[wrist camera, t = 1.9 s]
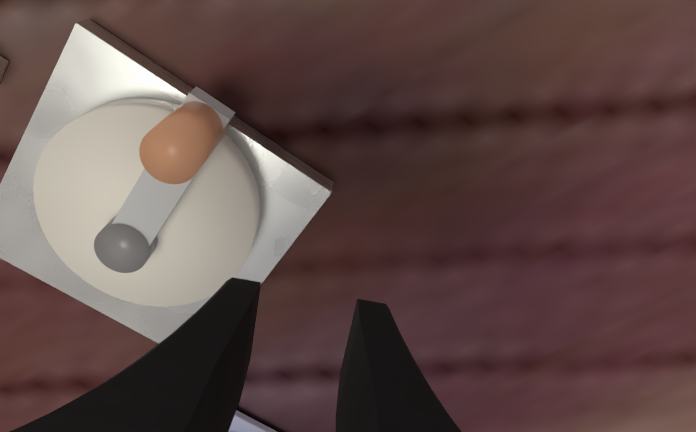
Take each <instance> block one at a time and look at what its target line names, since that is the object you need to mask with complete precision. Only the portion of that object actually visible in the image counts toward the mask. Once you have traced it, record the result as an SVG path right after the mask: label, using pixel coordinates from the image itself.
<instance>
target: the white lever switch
mask: <svg viewBox="0 0 696 432" xmlns="http://www.w3.org/2000/svg"><path fill="white" fill-rule="evenodd" d="M235 113H236V112H234V111H233V110H231V109H230V108H228V107H227V106H225V105H224V104H222V103H221V102H219V101H218V100H216V99H215V98H213V97H212V96H210V95H209V94H207V93H206V92H204V91H203V90H201V89H200V88H198V87H197V86H196V87H195V88H194V89H193V90H192V91H190V92H189V94H188V95H187V97H186V99H185V100H184V102H183V103H182V104H181V105H177V104H174V103H170V102H167V101H162V100H156V99H150V98H130V99H121V100H116V101H112V102H108V103H105V104H103V105H100V106H98V107H95V108H94V109H92V110H90V111H89V112H87V113H85V114H83V115H82V116H80V117H78V118H77V119H75V120H73V121H72V122H70V123H68V124H67V125H66V126H64V127H63V128H62V129H61V130H60V131H58V132H57V133H56V134H55V135H54V137H53V138H52V139H51V140H50V141H49V142H48V144H47V145H46V147H45V149H44V150H43V152H42V154H41V156H40V159H39V161H38V164H37V166H36V171H35V176H34V186H33V195H34V205H35V209H36V213H37V218H38V220H39V223H40V226H41V228H42V231H43V233H44V234H45V236H46V238H47V240H48V242H49V244H50V245H51V246H52V248H53V249H54V251H55V252H56V254H57V255H58V256H59V257H60V258H61V260H62V261H63V262H64V263H65V264H66V265H67V266H68V267H69V268H70V269H71V270H72V271H73V272H74V273H75V274H77V275H78V276H79V277H81V278H82V279H83V280H84V281H86V282H87V283H89V284H90V285H92V286H94V287H95V288H97V289H98V290H100V291H102V292H104V293H106V294H109V295H111V296H113V297H116V298H118V299H121V300H124V301H127V302H131V303H135V304H140V305H146V306H157V307H169V306H180V305H185V304H190V303H193V302H197V301H200V300H202V299H205V298H207V297H209V296H211V295H213V294H215V293H216V292H217V291H218V290H219V289H220V288H221V286H222V285H223V284H224V283H225V282H226V281H227V280H229V279H230V278H232V277H233V278H234V277H235V276H236V275H237V274H238V273H239V271H240V270H241V268H242V267H243V265H244V263H245V262H246V260H247V257H248V255H249V253H250V250H251V248H252V245H253V242H254V240H255V237H256V234H257V230H258V226H259V221H260V197H259V191H258V186H257V183H256V180H255V177H254V174H253V172H252V170H251V168H250V166H249V164H248V162H247V160H246V159H245V157H244V155H243V154H242V152H241V151H240V149H239V148H238V147H237V146H236V145H235V143H234V142H233V141H232V140H231V139H230V138H229V137H228V136H227V135H226V132H227V130H228V127H229V122H230V120H231V119H232V117H233V116H234V114H235Z"/></svg>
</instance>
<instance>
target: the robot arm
mask: <svg viewBox="0 0 696 432" xmlns="http://www.w3.org/2000/svg"><path fill="white" fill-rule="evenodd" d="M260 285H261V282H256V281H250V280H245V279H239V278H233V277H232V278H230V279H229V280H227V281H226V282H225V283H224V284H223V285H222V286H221V288H220V289H219V290H218V291H217V292H216V293H215V294H214V295H213V296H212V297H211V298H210V299H209V300H208V301H207V302H206V303H205V304H204V305H203V306H202V307H201V308H200V309H199V310H198V311H197V312H196V313H194V314H193V315H192V316H191V317H190V318H189V319H188V320H187V321H185V322H184V323H183V324H182V325H181V326H180V327H179V328H178V329H177V330H175V331H174V332H173V333H172V334H171V335H169V336H168V337H167V338H166V339H164V340H163V341H162V342H160V343H159V344H158V345H157V346H155V347H154V348H153V349H152V350H150V351H149V352H148V353H146V354H145V355H144V356H142V357H141V358H140V359H138V360H137V361H136V362H134V363H133V364H131V365H130V366H128V367H127V368H126V369H124V370H123V371H121V372H120V373H118V374H117V375H115V376H113V377H112V378H110V379H109V380H107V381H106V382H104V383H103V384H101V385H99V386H98V387H96V388H94V389H92V390H91V391H89V392H87V393H86V394H84V395H82V396H80V397H79V398H77V399H75V400H73V401H71V402H70V403H68V404H66V405H64V406H62V407H61V408H59V409H57V410H55V411H53V412H51V413H49V414H47V415H45V416H43V417H41V418H39V419H36V420H34V421H32V422H30V423H28V424H26V425H24V426H21V427H19V428H17V429H15V430H12V431H10V432H277V431H275V430H273V429H271V428H269V427H267V426H265V425H264V424H262V423H260V422H258V421H256V420H254V419H252V418H250V417H248V416H247V415H245V414H243V413H241V412H239V411H237V407H238V404H239V401H240V398H241V394H242V390H243V386H244V382H245V378H246V374H247V370H248V366H249V361H250V357H251V350H252V343H253V335H254V328H255V321H256V314H257V307H258V299H259V292H260ZM336 432H461V430H460V429H459V428H458V427H457V425H456V424H455V423H454V421H453V420H452V419H451V417H450V416H449V414H448V413H447V412H446V410H445V409H444V407H443V406H442V404H441V403H440V401H439V400H438V398H437V397H436V395H435V394H434V392H433V391H432V389H431V388H430V386H429V384H428V383H427V381H426V379H425V378H424V376H423V374H422V373H421V371H420V369H419V367H418V366H417V364H416V362H415V360H414V359H413V357H412V355H411V353H410V351H409V349H408V347H407V346H406V344H405V342H404V340H403V338H402V336H401V334H400V332H399V329H398V327H397V325H396V323H395V321H394V319H393V316H392V314H391V312H390V310H389V308H388V307H387V305H386V304H383V303H377V302H372V301H366V300H360V299H357V303H356V308H355V312H354V316H353V320H352V325H351V329H350V333H349V338H348V342H347V346H346V350H345V355H344V359H343V363H342V368H341V372H340V380H339V390H338V399H337V410H336Z"/></svg>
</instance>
